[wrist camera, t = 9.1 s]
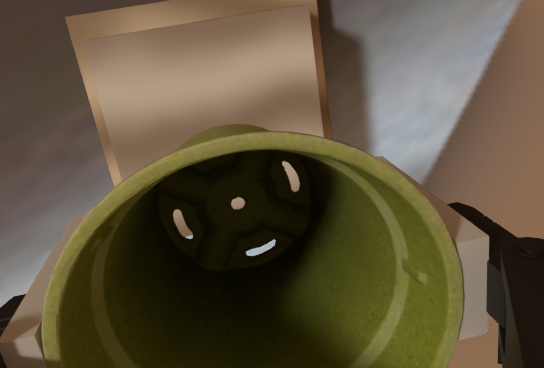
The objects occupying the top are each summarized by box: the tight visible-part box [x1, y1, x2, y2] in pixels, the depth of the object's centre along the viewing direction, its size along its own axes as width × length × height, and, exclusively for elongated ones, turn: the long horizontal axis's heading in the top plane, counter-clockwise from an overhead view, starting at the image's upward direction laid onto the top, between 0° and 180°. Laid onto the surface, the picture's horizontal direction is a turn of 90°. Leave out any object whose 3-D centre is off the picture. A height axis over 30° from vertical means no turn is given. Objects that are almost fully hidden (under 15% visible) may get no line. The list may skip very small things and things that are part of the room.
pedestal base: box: [65, 0, 332, 237], centre depth 32 cm, size 16×16×6 cm
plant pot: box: [42, 124, 464, 368], centre depth 15 cm, size 9×9×9 cm
